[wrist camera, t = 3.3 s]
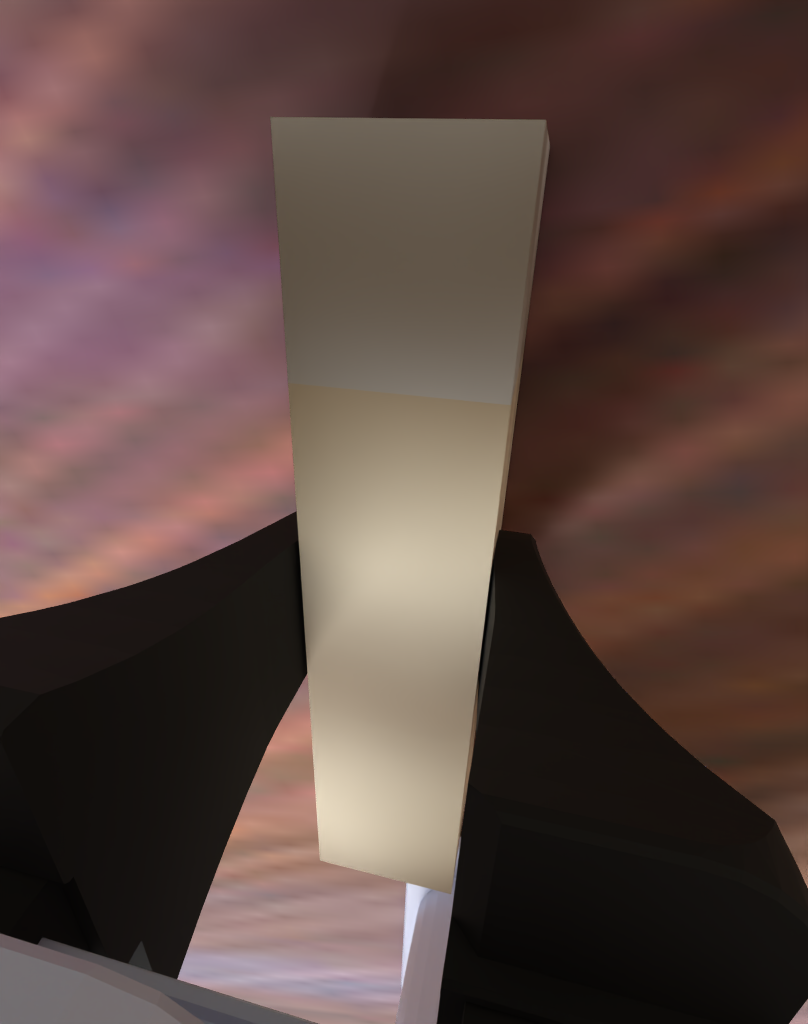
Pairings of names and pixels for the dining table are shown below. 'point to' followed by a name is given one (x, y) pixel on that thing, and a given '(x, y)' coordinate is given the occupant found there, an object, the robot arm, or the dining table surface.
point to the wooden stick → (401, 452)
